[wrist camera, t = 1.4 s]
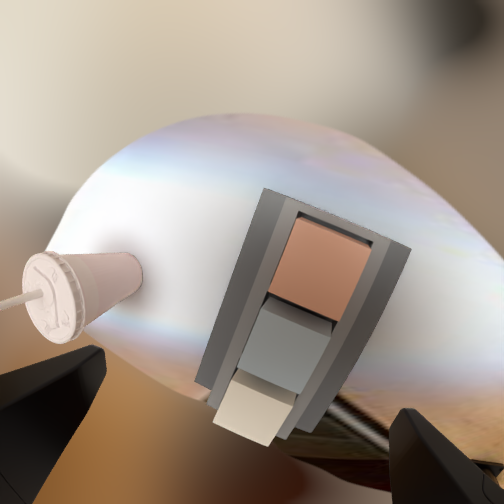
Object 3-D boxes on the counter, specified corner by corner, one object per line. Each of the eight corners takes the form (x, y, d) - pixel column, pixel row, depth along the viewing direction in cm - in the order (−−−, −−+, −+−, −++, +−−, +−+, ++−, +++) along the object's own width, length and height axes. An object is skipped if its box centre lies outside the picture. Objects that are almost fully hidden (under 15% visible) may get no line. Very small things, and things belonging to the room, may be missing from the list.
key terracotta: (367, 244, 18) (371, 249, 16) (339, 308, 19) (339, 321, 17) (301, 217, 19) (296, 218, 17) (276, 281, 20) (267, 291, 18)
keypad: (408, 247, 20) (418, 253, 17) (312, 426, 24) (308, 447, 21) (266, 188, 22) (256, 186, 20) (199, 376, 26) (184, 393, 23)
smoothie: (139, 226, 26) (-2, 246, 12) (166, 296, 26) (39, 363, 12) (92, 252, 28) (-32, 280, 14) (116, 314, 28) (0, 371, 14)
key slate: (331, 322, 20) (330, 338, 17) (304, 375, 21) (300, 394, 18) (270, 296, 20) (261, 308, 18) (247, 350, 21) (236, 367, 19)
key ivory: (298, 387, 21) (293, 406, 18) (274, 426, 22) (268, 446, 19) (242, 362, 22) (231, 379, 19) (224, 404, 23) (212, 422, 20)
